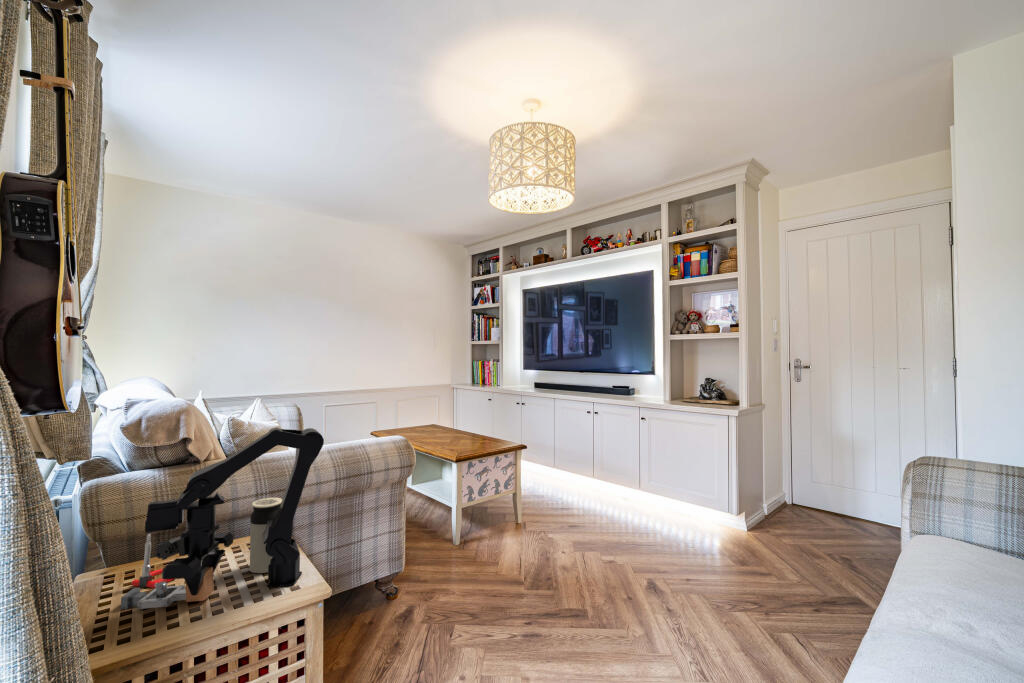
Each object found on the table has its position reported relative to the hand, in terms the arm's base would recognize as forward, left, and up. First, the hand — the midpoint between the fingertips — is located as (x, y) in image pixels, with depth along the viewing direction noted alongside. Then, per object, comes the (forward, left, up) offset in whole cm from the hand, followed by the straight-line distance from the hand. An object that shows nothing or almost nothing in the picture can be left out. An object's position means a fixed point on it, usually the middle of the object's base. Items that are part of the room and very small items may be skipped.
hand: (200, 589), depth 107 cm
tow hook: (+17, -12, -3) cm, 21 cm away
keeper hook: (+12, 0, -3) cm, 12 cm away
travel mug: (-8, -16, -3) cm, 18 cm away
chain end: (+5, 0, -2) cm, 5 cm away
